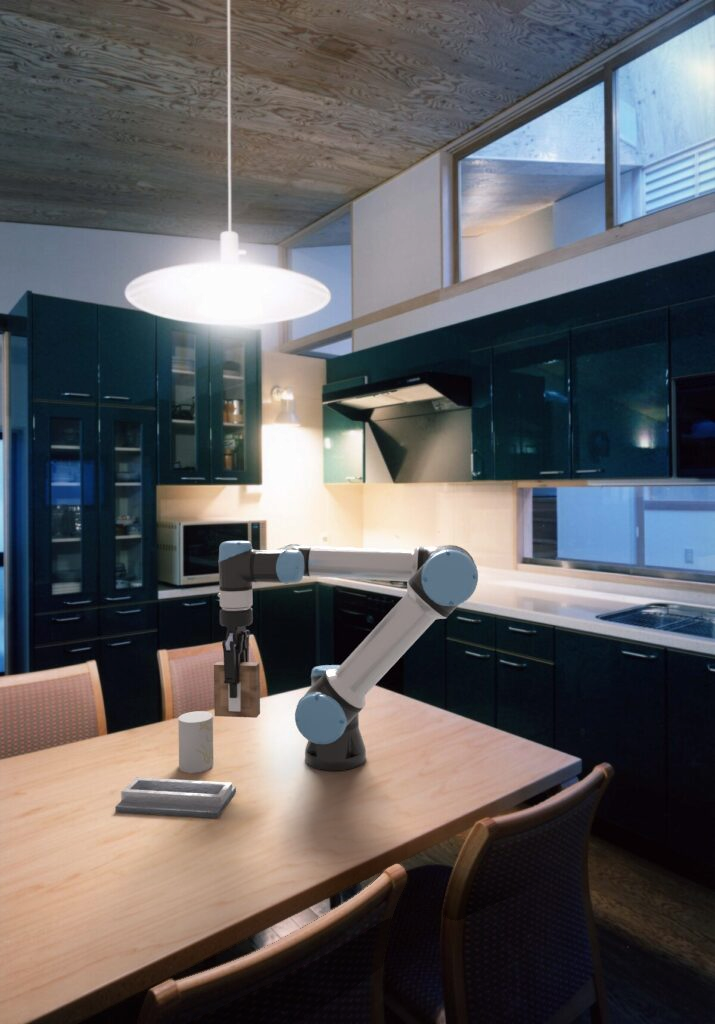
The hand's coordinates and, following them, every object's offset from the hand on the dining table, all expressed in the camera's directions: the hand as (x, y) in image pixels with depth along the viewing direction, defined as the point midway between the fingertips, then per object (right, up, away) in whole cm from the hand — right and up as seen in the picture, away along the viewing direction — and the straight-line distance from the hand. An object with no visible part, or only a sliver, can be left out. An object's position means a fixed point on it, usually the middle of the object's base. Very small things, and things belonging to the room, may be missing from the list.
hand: (237, 707), depth 152 cm
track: (-11, -17, -12) cm, 23 cm away
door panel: (0, -2, 0) cm, 2 cm away
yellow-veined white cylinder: (-11, -16, +7) cm, 21 cm away
